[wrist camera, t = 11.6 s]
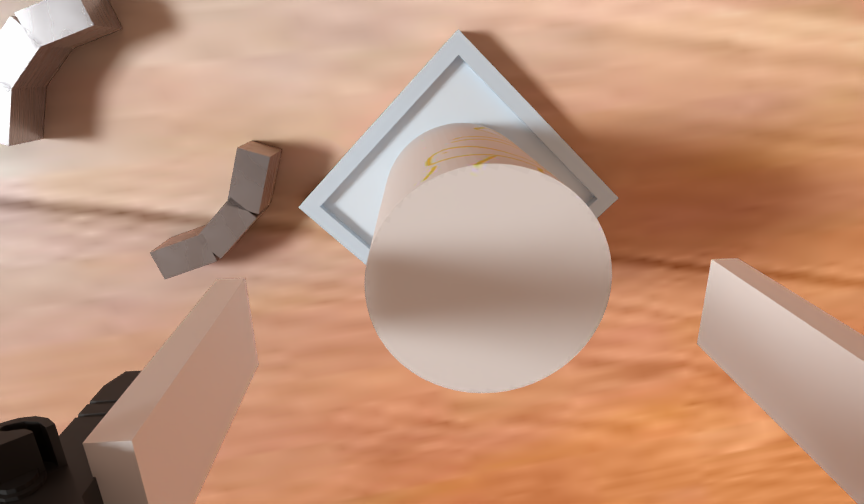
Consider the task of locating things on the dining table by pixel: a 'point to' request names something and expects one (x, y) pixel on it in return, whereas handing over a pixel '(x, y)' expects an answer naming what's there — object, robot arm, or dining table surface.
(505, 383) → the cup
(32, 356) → the dining table surface
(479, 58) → the tray
